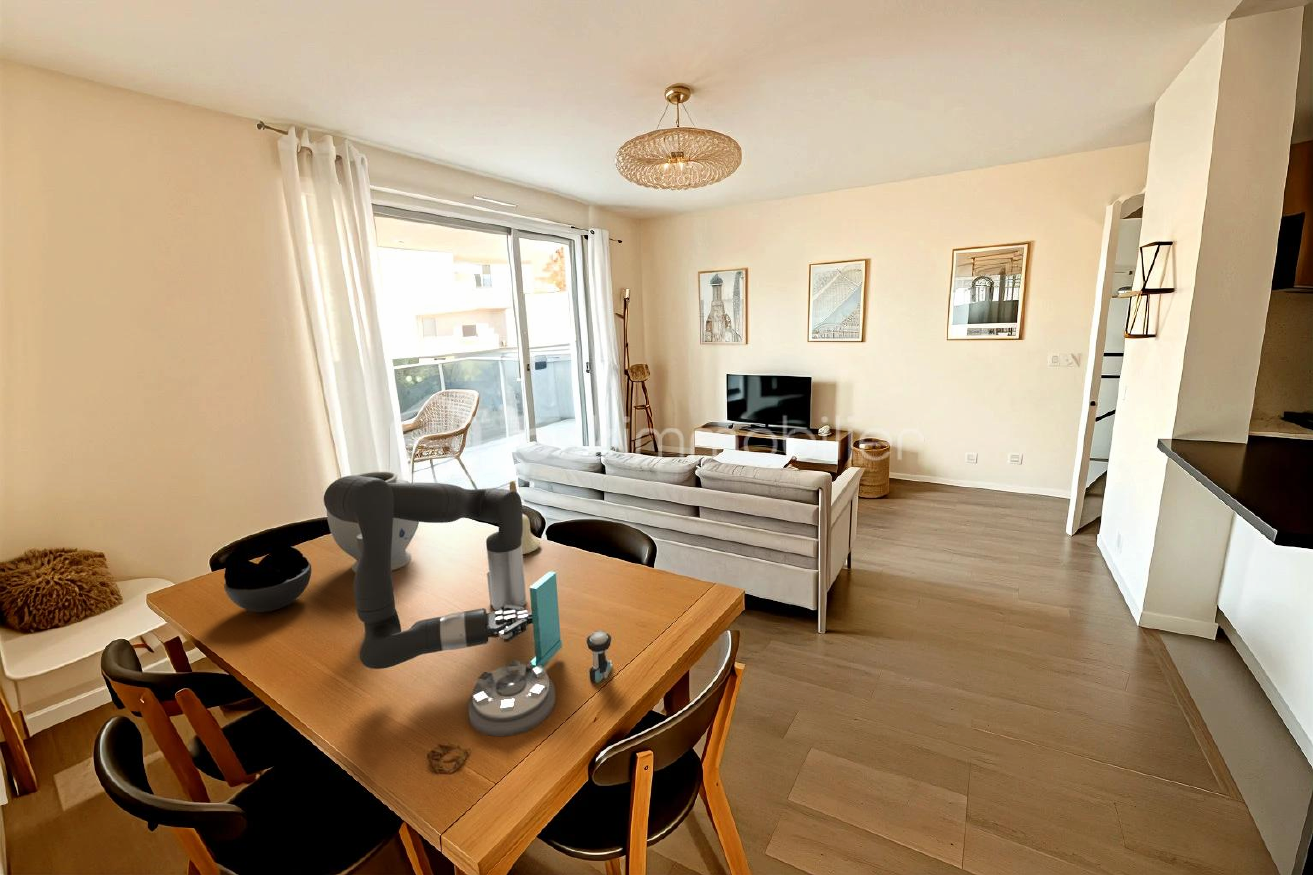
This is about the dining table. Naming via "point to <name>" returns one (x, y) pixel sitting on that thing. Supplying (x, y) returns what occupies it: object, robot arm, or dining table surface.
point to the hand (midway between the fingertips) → (545, 614)
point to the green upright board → (524, 684)
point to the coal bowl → (267, 578)
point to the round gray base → (515, 725)
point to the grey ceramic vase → (349, 531)
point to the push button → (599, 655)
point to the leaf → (437, 757)
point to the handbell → (526, 531)
